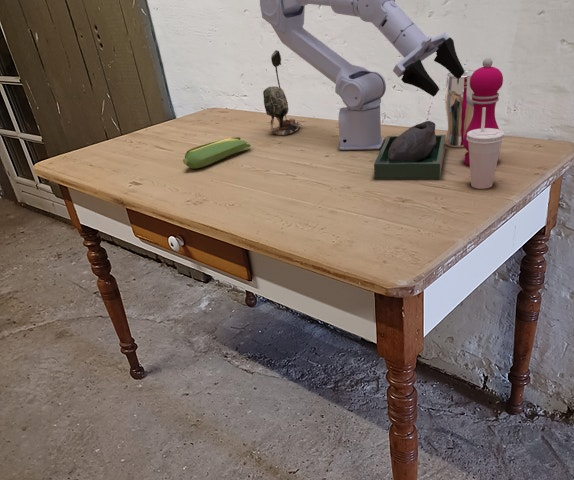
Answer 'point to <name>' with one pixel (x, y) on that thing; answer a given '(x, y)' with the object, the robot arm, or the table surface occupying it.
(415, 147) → the perforated stone tool
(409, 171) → the dish
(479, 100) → the pepper mill
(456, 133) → the beer glass
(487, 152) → the smoothie
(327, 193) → the table surface
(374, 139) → the robot arm
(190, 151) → the edible corn
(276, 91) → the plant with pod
